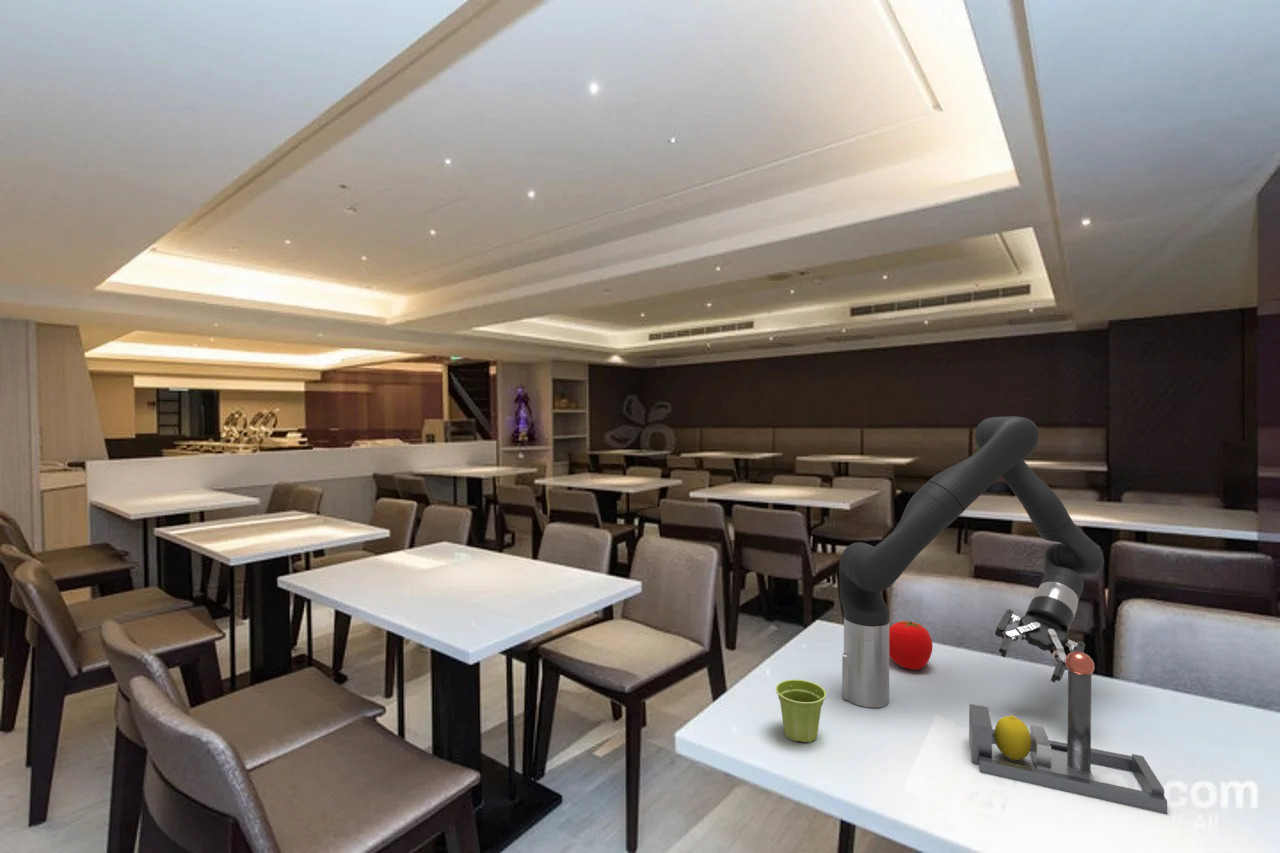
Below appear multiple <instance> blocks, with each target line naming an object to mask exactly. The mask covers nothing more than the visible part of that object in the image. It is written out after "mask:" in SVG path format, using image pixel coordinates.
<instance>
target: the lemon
mask: <svg viewBox="0 0 1280 853" xmlns="http://www.w3.org/2000/svg"><path fill="white" fill-rule="evenodd" d="M994 729H995V733H994V736H995V742H996V744H995V745H996V747H997V748H998V750H999V751H1000V753H1001V754H1003V755H1004V756H1005V757H1006V758H1008V759H1009V760H1010V761H1012V762H1015V761H1017V760H1023V759H1024V758H1026V757H1027V756H1028V755H1029V754H1030V750H1031V736H1030V729H1029V727H1028V726H1027V725H1026V724H1025V722H1023V721H1022V719H1019V718H1018V717H1016V716H1015V715H1006V716H1003V717H1001V718H999V720H998V721H997V722H996V724H995V728H994Z"/></svg>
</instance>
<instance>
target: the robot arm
mask: <svg viewBox="0 0 1280 853" xmlns="http://www.w3.org/2000/svg"><path fill="white" fill-rule="evenodd" d="M974 432H975V433H974V439H975V443H976V446H977V447H978V450H977V451H976V452H975V453H973V454H972V455H971V456H969V457H967V458H966V459H964V460H962V461H960V462H958V463H956V464H954V465H952V466H950V467H948V468H946V469H944V470H943V471H941V472H939V473H937V474H936V475H934V476H933V477H932V478H930V479H929V480H928V481H927V482H926V483H924V484H923V486H921V487H920V488H919V489H918V490H917V491H916V492H915V493H914V494H913V495H912V497H910V499H909V501H908V502H907V504H906V507H905V509H904V511H903V512H902V515H901V518H900V520H899V522H898V524H897V526H896V527H895V528H894V529H893V530H892V532H890V533H889V534H888V535H887V536H886V537H885V538H884V539H883V540H882V541H880V542H879V543H877V544H876V545H875V546H873V545H871V544H869V543H865V542H861V541H860V542H852V543H851V544H849V545H848V546H846V547H845V549H844V550H843V551H842V553H841V556H840V560H839V566H838V567H839V569H838V570H839V574H838V575H839V595H840V596H839V598H840V603H841V605H842V608H843V654H842V657H841V658H842V659H841V661H842V662H841V663H842V664H841V666H842V667H841V672H842V673H841V675H842V677H841V680H842V682H841V683H842V684H841V685H842V686H841V690H842V691H841V693H842V694H841V695H842V696H841V697H842V698H841V699H842V700H844V701H845V700H846V701H848V702H850V703H852V704H854V705H856V706H860V707H865V708H872V709H873V708H875V709H876V708H883V707H886V706H887V705H889V703H890V656H889V628H890V610H889V607H888V605H887V603H886V602H885V601H884V597H883V596H882V592H884V591H885V590H887V589H889V588H890V587H891V586H892V585H893V584H894V583H895V582H896V581H897V580H898V578H900V576H901V575H902V574H903V573H904V572H905V570H906V569H907V568H908V567H909V566H910V564H911V563H912V562H913V561H914V560H915V559H916V557H917V556H918V555H919V554H920V553H921V552H922V551H923V550H924V549H925V548H926V547H928V546H929V545H930V544H931V543H932V542H933V541H934V540H935V539H936V538H937V537H938V536H939V535H940V534H941V533H942V532H943V531H944V530H945V529H946V528H948V527H949V526H950V525H951V524H952V523H953V522H954V521H955V520H957V518H959V517H960V515H962V514H963V513H964V512H965V511H966V510H967V509H968V508H969V506H971V504H973V503H974V502H975V501H976V500H977V499H978V498H979V497H980V496H981V495H983V494H984V493H985V492H986V491H987V490H988V489H989V488H990V487H991V486H992V485H993V484H994V483H995V482H996V481H998V479H1000V478H1001V477H1002V479H1003V481H1004V482H1005V483H1006V484H1007V485H1008V486H1009V488H1010V490H1011V491H1012V492H1013V494H1014V495H1015V496H1016V498H1017V499H1018V501H1019V502H1020V503H1021V505H1022V507H1023V509H1024V510H1025V512H1026V514H1027V515H1028V518H1029V519H1030V521H1031V523H1032V525H1033V526H1034V528H1035V530H1036V531H1037V533H1038V535H1039V536H1040V537H1041V538H1042V539H1043V540H1045V541H1048V542H1054V544H1052V545H1049V546H1048V547H1047V548H1046V549H1045V551H1044V554H1043V555H1044V558H1043V559H1044V576H1043V578H1042V580H1041V583H1040V584H1039V587H1038V588H1037V589H1036V590H1035V593H1034V594H1033V597H1032V598H1031V601H1030V603H1029V606H1028V607H1027V610H1026V612H1025V614H1024V616H1022V617H1020V616H1018V615H1016V614H1015V613H1014V611H1013V610H1012V609H1008V608H1007V609H1006V611H1005V613H1004V614H1003V616H1002V618H1000V621H999V623H998V624H997V626H996V629H995V632H994V635H995V636H996V637H999V638H1001V639H1002V641H1001V643H1000V645H999V648H998V652H999V653H1000V654H1001V655H1000V656H1001V657H1003V658H1006V656H1007V654H1008V651H1009V650H1010V647H1011V644H1012V643H1021V642H1024V641H1026V642H1027V643H1028V644H1029V645H1031V646H1035V647H1037V648H1039V649H1040V650H1042V651H1045V652H1046V651H1048V654H1049V655H1050V658H1051V659H1052V660H1054V662H1055V664H1056V665H1055V668H1054V670H1053V673H1052V675H1051V678H1050V682H1052V683H1056V681H1057V682H1060V681H1061V680H1062V678H1063V676H1064V674H1065V671H1066V670H1068V668H1067V667H1066V664H1065V659H1066V656H1067V654H1066V653H1065V649H1064V648H1065V647H1068V648H1069V651H1070V653H1071V652H1074V651H1079V652H1083V653H1085V647H1086V644H1085V642H1084V641H1077V642H1075V641H1074V640H1071V639H1069V637H1068V633H1069V631H1070V630H1071V629H1070V628H1071V626H1072V623H1073V621H1074V619H1075V615H1076V614H1077V610H1078V605H1079V601H1080V598H1081V595H1082V593H1083V590H1084V586H1085V585H1084V584H1085V583H1084V580H1083V578H1082V575H1083V576H1084V575H1085V576H1086V575H1088V576H1089V575H1096V574H1099V573H1100V572H1101V571H1102V570H1103V568H1104V564H1105V560H1104V555H1103V553H1102V551H1101V549H1100V547H1099V546H1098V545H1097V544H1096V543H1095V542H1094V541H1093V540H1092V539H1091V538H1090V537H1089V536H1088V535H1086V533H1085V532H1084V531H1083V530H1081V528H1080V527H1079V526H1077V524H1076V523H1074V521H1073V519H1072V518H1071V516H1070V514H1069V513H1068V510H1067V508H1066V506H1064V504H1063V502H1062V500H1061V499H1060V497H1059V496H1058V495H1057V494H1056V492H1054V490H1053V489H1052V488H1050V487H1049V485H1048V484H1047V483H1045V481H1043V480H1042V479H1041V478H1040V477H1039V476H1038V475H1037V474H1036V473H1035V472H1034V471H1033V470H1032V469H1031V467H1029V465H1028V464H1027V463H1026V461H1025V459H1026V458H1027V457H1029V456H1030V455H1031V454H1032V453H1033V451H1035V449H1036V447H1037V445H1038V444H1039V439H1040V431H1039V428H1038V425H1037V424H1035V422H1034V421H1033V420H1031V419H1029V418H1026V417H1022V416H1016V415H1015V416H993V417H988V418H985V419H983V420H981V422H979V423H978V425H977V427H976V429H975V431H974ZM1015 624H1017V625H1018V627H1016V628H1015V629H1012V630H1007V627H1008V626H1011V625H1015Z"/></svg>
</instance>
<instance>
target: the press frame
mask: <svg viewBox="0 0 1280 853" xmlns="http://www.w3.org/2000/svg"><path fill="white" fill-rule="evenodd" d="M968 707H969V708H968V709H969V710H968V711H969V712H968V714H969V715H968V716H969V718H968V720H969V721H968V728H969V729H968V731H969V732H968V734H969V735H968V741H969V742H968V743H969V751H970V757H971V763H972V764H974V765H978V768H979V770H978V771H979V772H980V773H984V774H989V775H993V776H996V777H997V776H998V777H1002V778H1006V779H1010V780H1014V781H1015V780H1016V781H1019V782H1024V783H1028V784H1034V785H1037V786H1043V787H1045V788H1050V789H1056V790H1058V791H1059V790H1060V791H1064V792H1069V793H1072V794H1073V793H1074V794H1077V795H1081V796H1086V797H1091V798H1095V799H1100V800H1104V801H1107V802H1108V801H1109V802H1113V803H1117V804H1123V805H1127V806H1131V807H1135V808H1139V809H1144V810H1148V811H1151V812H1156V813H1160V814H1168V799H1167V798H1166V796H1165V788H1164V787H1163V785H1162V783H1161V782H1160V780H1159V779H1158V778H1157V776H1156V773H1154V771H1153V770H1152V768H1151V766H1150V765H1149V763H1148V761H1147V760H1146V759H1145V757H1144V756H1143V755H1139V754H1135V753H1132V754H1131V755H1127V754H1122V753H1116V752H1112V751H1107V750H1102V749H1098V748H1092V747H1091V764H1093V765H1099V766H1103V767H1108V768H1114V769H1118V770H1123V771H1128V772H1131V773H1132V774H1133V776H1134V778H1135V780H1136V781H1137V783H1138V785H1139V787H1140V788H1141V790H1138V789H1135V788H1131V787H1130V788H1129V787H1125V786H1122V785H1116V784H1112V783H1106V782H1104V781H1103V782H1101V781H1098V780H1097V781H1096V780H1095V781H1093V780H1089V779H1084V778H1079V777H1075V776H1070V775H1065V774H1061V773H1056V772H1051V771H1047V770H1042V769H1037V768H1035V767H1031V766H1028V765H1023V764H1017V763H1014V762H1008V761H1003V760H999V759H995V758H993V744H994V745H996V742H995V736H994V733H995V728H993V725H992V720H991V716H990V712H989V711H990V710H989V707H988V706H983V705H978V704H972V703H969V705H968ZM1048 740H1049V742H1050V745H1051V749H1053V750H1058V751H1063V752H1067V742H1061V741H1056V740H1051V739H1048Z"/></svg>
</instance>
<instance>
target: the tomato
mask: <svg viewBox="0 0 1280 853" xmlns="http://www.w3.org/2000/svg"><path fill="white" fill-rule="evenodd" d="M923 626H924V624H921V623H917V622H913V621H904V620H903V621H898V622H895V623H894V624H892V625H891V626H889V659H891V661H893V662H894V663H896V664H897V665H898V666H900V667H902V668H904V669H908V670H913V671H918V670H920V669H923V668H924V667H925V666H926V665H927V664H928V663H929V660H930V659H931V656H932V653H933V647H934V646H933V641H932V640H933V639H932V638H931V635H930V633H929V631H928V630H927V629H926V628H925V627H923Z"/></svg>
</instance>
